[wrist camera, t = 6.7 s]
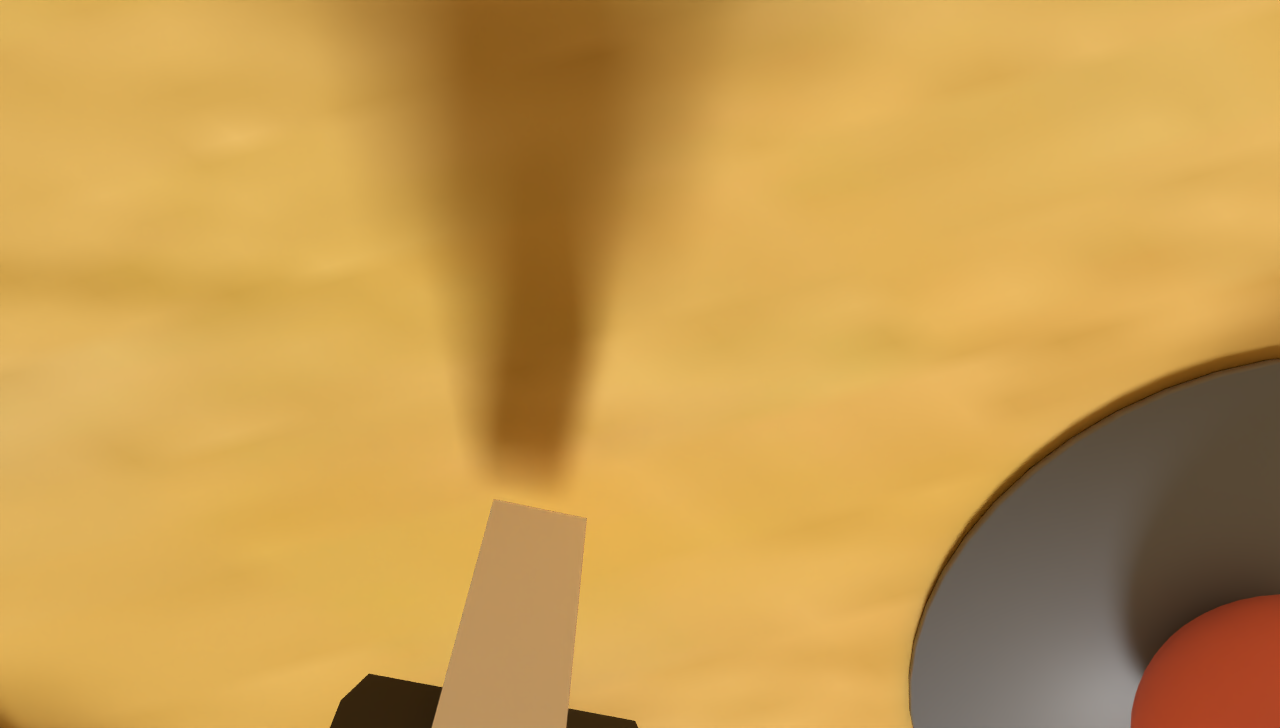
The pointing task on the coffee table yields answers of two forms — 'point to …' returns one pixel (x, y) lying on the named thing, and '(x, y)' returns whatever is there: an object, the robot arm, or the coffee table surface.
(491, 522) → the robot arm
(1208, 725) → the ball
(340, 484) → the coffee table surface
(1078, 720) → the disc
